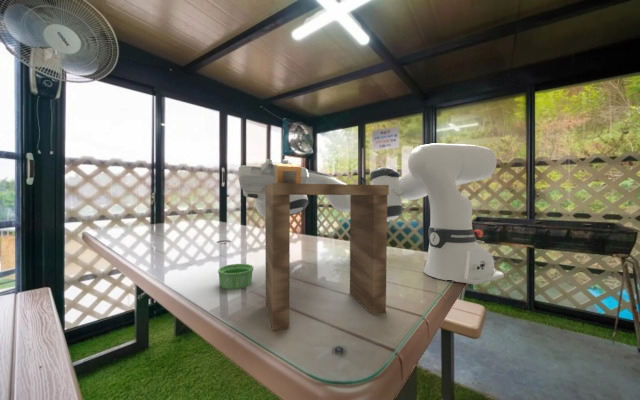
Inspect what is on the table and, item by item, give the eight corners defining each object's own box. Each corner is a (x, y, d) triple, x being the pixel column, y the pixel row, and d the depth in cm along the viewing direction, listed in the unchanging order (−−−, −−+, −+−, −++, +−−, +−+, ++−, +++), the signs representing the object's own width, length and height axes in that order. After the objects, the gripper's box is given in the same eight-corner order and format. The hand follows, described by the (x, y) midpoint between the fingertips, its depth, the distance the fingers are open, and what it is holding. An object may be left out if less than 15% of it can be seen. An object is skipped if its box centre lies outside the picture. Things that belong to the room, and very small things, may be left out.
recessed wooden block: (284, 173, 74) (284, 159, 74) (300, 185, 56) (301, 166, 55) (266, 172, 73) (266, 158, 72) (277, 184, 54) (278, 166, 53)
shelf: (359, 291, 63) (360, 186, 63) (387, 313, 52) (388, 185, 51) (265, 304, 56) (265, 185, 56) (273, 332, 45) (273, 183, 44)
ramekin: (223, 293, 62) (223, 275, 62) (214, 283, 70) (214, 267, 69) (258, 285, 68) (258, 269, 67) (246, 276, 75) (246, 261, 75)
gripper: (304, 196, 83) (315, 172, 72) (238, 196, 77) (238, 169, 65) (302, 179, 86) (312, 154, 74) (238, 178, 80) (238, 150, 68)
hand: (277, 161), depth 70 cm, fingers closed on recessed wooden block, 3 cm apart
